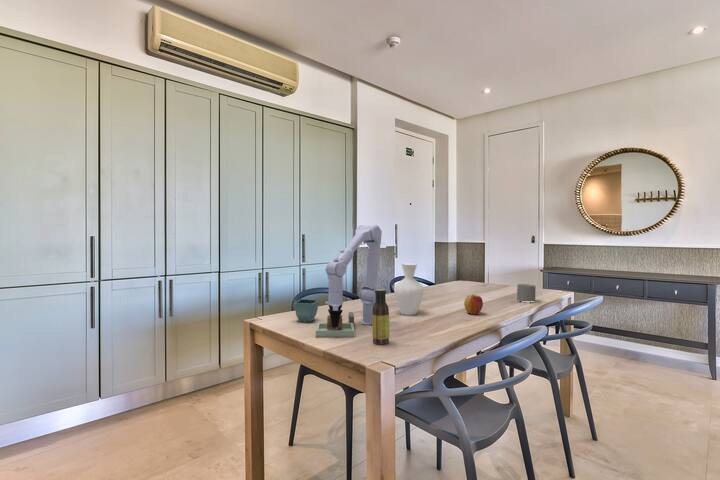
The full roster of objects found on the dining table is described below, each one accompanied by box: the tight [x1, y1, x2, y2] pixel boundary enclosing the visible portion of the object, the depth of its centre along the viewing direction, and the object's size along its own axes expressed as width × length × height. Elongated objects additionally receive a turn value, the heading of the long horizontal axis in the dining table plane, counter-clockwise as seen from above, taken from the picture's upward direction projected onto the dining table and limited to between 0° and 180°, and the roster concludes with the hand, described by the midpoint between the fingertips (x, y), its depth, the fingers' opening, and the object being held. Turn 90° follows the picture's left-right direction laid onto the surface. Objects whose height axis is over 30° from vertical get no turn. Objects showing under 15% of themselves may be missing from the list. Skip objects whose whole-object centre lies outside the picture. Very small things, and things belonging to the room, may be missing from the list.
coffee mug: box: [516, 283, 536, 302], centre depth 223 cm, size 13×10×10 cm
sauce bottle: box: [372, 288, 390, 345], centre depth 139 cm, size 6×6×20 cm
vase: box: [394, 262, 424, 316], centre depth 187 cm, size 14×14×25 cm
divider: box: [347, 311, 355, 327], centre depth 162 cm, size 2×8×5 cm, turn 4°
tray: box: [315, 322, 355, 338], centre depth 151 cm, size 15×12×2 cm
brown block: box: [326, 314, 343, 330], centre depth 151 cm, size 6×6×6 cm
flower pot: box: [294, 298, 320, 323], centre depth 170 cm, size 9×9×9 cm
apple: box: [463, 294, 484, 315], centre depth 188 cm, size 9×9×10 cm
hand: (335, 324), depth 151 cm, fingers open, 7 cm apart
